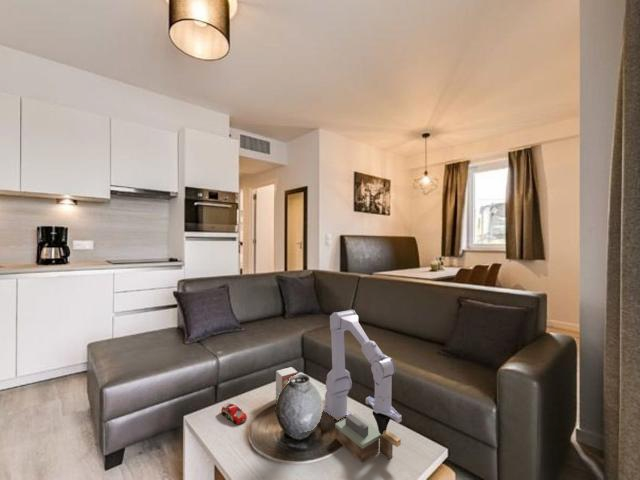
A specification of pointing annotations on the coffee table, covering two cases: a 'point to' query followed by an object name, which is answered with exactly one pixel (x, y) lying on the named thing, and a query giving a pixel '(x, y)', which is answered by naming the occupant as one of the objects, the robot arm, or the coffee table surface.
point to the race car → (234, 413)
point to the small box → (283, 378)
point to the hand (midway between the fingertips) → (382, 432)
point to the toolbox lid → (358, 430)
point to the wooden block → (391, 438)
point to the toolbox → (369, 450)
